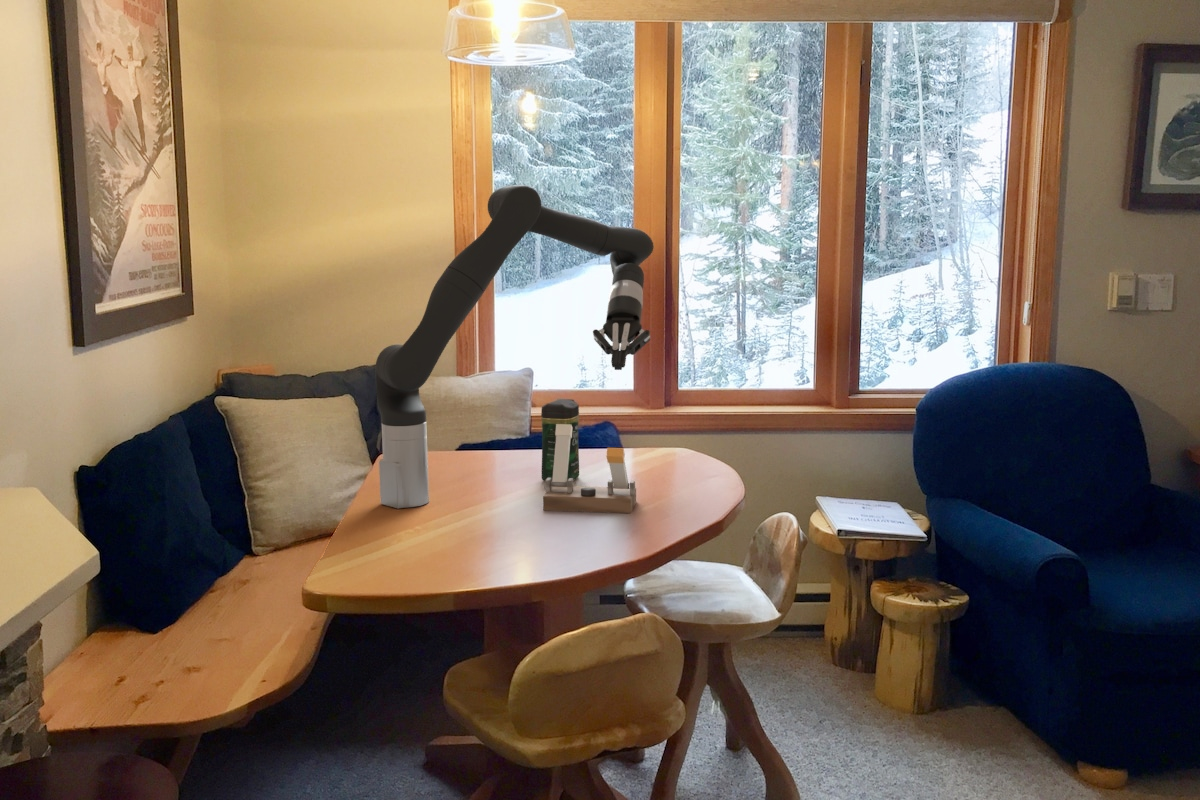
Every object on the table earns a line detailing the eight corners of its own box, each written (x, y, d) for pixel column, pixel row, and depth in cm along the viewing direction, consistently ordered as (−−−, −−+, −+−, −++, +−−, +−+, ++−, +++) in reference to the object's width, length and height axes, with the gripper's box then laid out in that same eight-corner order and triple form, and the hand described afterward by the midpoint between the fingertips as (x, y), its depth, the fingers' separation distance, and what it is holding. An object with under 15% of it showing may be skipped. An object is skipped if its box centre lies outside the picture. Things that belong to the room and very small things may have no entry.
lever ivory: (552, 487, 219) (557, 427, 223) (567, 488, 218) (572, 427, 223) (550, 485, 217) (556, 424, 221) (565, 485, 216) (571, 424, 221)
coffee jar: (570, 485, 235) (569, 403, 232) (537, 483, 237) (536, 402, 234) (584, 476, 244) (583, 397, 241) (551, 473, 246) (550, 395, 243)
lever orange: (614, 482, 217) (607, 447, 206) (629, 483, 216) (623, 448, 206) (613, 491, 216) (606, 456, 205) (628, 491, 215) (622, 456, 204)
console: (551, 499, 223) (550, 473, 222) (637, 501, 220) (637, 476, 219) (542, 510, 214) (542, 484, 213) (631, 513, 211) (631, 486, 211)
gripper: (593, 294, 230) (584, 356, 220) (653, 294, 228) (647, 357, 218) (597, 316, 236) (589, 377, 226) (656, 316, 234) (650, 378, 224)
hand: (617, 367), depth 222 cm, fingers closed
